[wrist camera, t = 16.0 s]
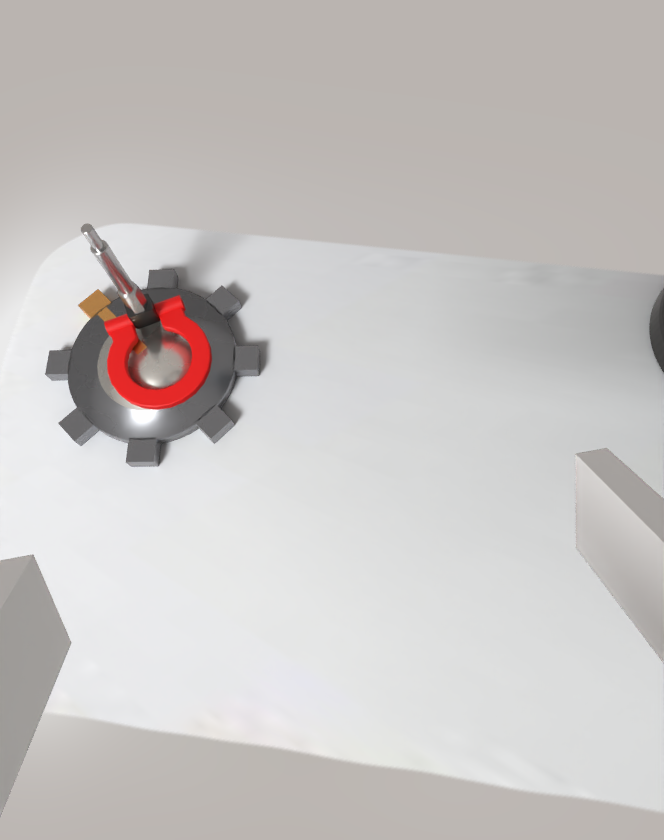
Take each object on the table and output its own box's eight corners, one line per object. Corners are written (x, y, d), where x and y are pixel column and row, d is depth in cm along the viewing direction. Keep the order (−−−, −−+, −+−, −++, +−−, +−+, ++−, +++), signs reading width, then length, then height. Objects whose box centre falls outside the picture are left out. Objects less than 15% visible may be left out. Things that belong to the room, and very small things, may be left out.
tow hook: (226, 389, 51) (193, 296, 54) (185, 313, 39) (144, 197, 41) (126, 426, 50) (98, 329, 53) (53, 360, 38) (21, 239, 41)
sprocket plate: (263, 274, 56) (261, 266, 54) (255, 464, 49) (252, 459, 48) (69, 280, 57) (63, 272, 55) (36, 468, 50) (28, 463, 49)
